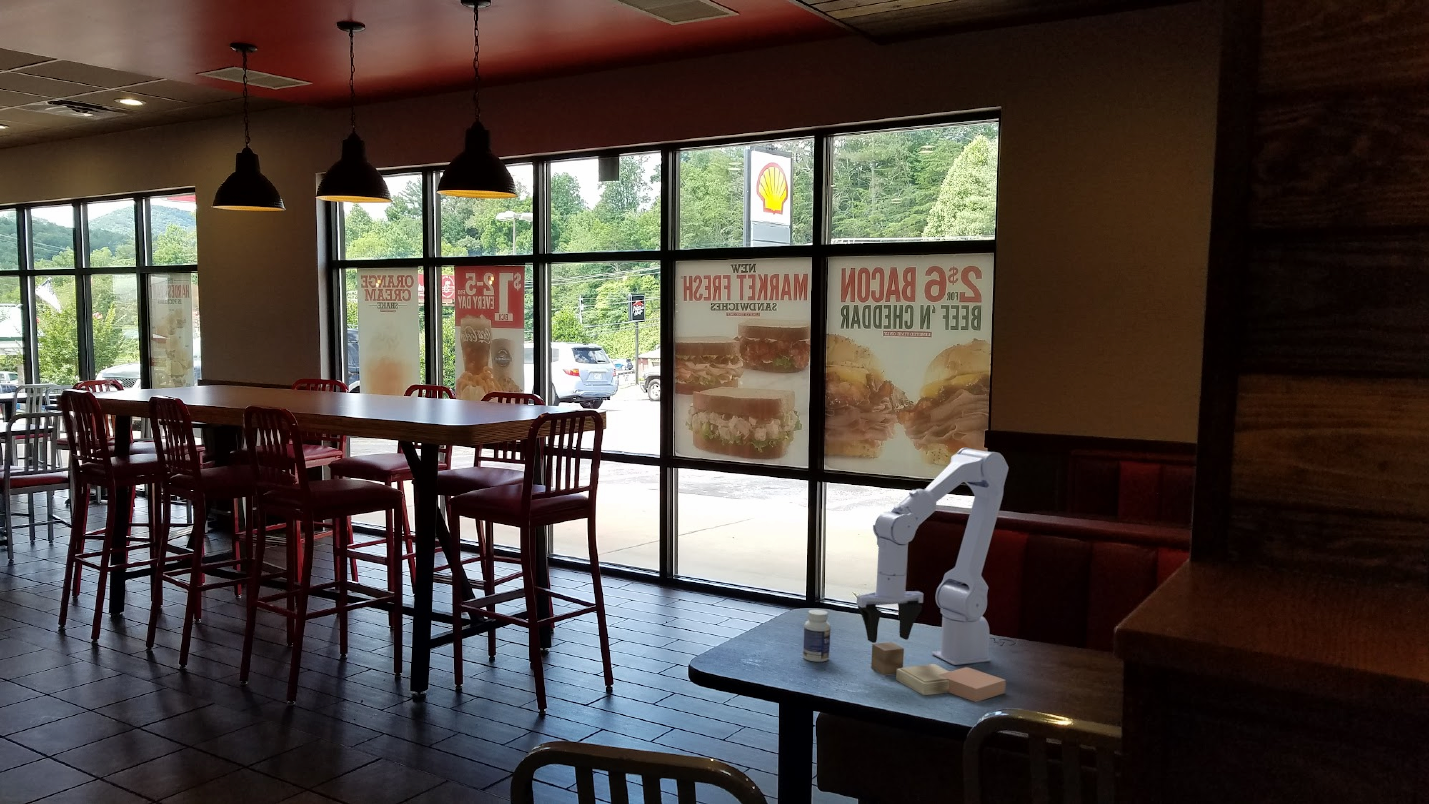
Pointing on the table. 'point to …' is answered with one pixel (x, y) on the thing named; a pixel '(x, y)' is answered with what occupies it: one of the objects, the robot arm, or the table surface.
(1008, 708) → the table surface
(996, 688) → the salmon pink slab
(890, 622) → the table surface
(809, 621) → the pill bottle
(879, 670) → the walnut block
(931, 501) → the robot arm
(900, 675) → the birch plinth
